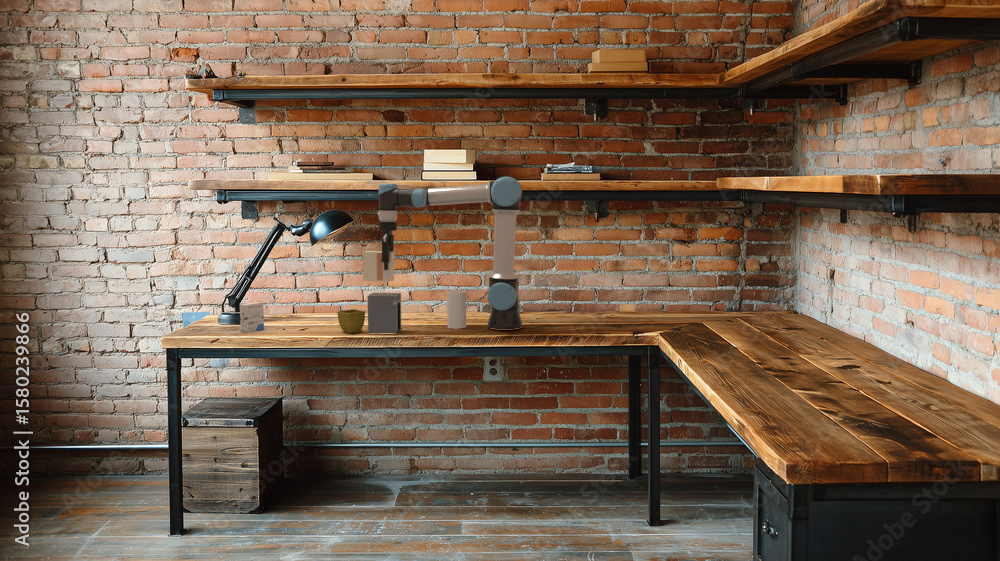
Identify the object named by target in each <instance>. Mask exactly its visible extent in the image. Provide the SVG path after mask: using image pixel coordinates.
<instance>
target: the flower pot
mask: <svg viewBox="0 0 1000 561" xmlns="http://www.w3.org/2000/svg"><path fill="white" fill-rule="evenodd" d="M336 313H337V319H338V324H339V327H340V329H341V330H342V331H343V333H347V332H348V333H347V334H353V332H355V333H360V332H361V331H362V329H363V327H364V324H365V321H366V320H365V319H366V318H365V317H366V310H359V309H355V308H353V309H345V310H337V311H336Z"/></svg>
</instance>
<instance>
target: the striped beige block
mask: <svg viewBox="0 0 1000 561" xmlns="http://www.w3.org/2000/svg"><path fill="white" fill-rule="evenodd" d="M394 259H395V251H394V252H390V255H389V262H390V278H383V262H381V260H382V250H381V251H380V250H379V251H378V250H365V251H362V281H363V282H364V281H365V282H393V281H395V260H394Z"/></svg>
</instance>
